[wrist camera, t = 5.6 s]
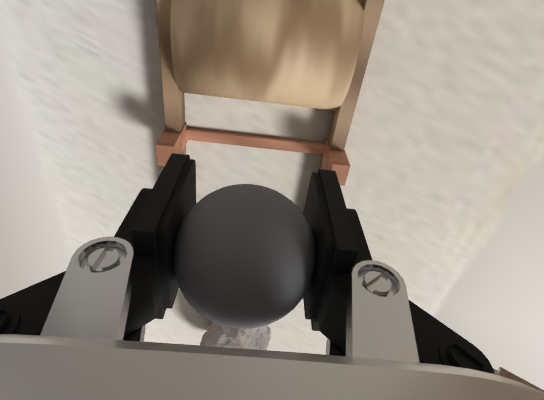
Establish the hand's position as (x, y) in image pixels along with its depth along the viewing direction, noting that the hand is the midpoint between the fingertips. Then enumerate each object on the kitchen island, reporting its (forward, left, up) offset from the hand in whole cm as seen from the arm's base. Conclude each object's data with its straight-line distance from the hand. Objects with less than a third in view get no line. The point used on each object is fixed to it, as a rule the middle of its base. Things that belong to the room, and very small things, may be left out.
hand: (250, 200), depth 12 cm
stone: (+22, 0, -14) cm, 26 cm away
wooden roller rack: (+5, 0, -15) cm, 16 cm away
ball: (0, 0, +1) cm, 1 cm away
